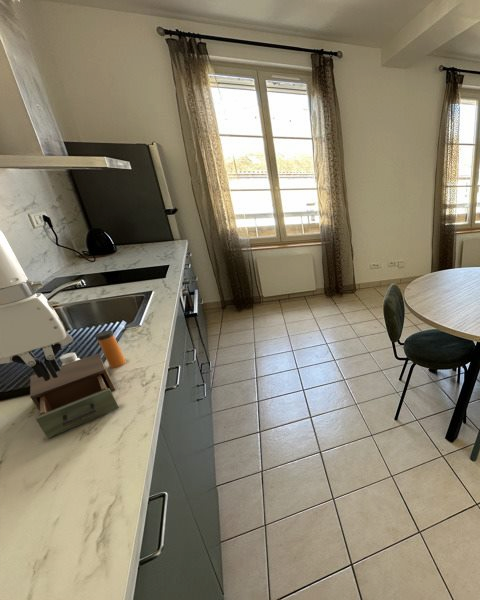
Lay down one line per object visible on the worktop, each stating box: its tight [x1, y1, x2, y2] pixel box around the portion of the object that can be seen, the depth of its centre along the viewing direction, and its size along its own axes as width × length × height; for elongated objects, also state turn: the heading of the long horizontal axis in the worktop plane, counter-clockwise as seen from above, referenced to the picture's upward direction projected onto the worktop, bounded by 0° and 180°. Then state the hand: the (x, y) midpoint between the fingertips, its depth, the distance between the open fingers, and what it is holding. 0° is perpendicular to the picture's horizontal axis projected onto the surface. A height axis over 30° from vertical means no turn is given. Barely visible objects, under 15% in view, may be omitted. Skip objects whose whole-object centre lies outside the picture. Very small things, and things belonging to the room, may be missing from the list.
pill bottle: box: [59, 352, 81, 366], centre depth 100 cm, size 4×4×8 cm
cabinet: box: [29, 353, 116, 413], centre depth 91 cm, size 14×15×8 cm
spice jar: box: [94, 329, 127, 369], centre depth 104 cm, size 4×4×12 cm
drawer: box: [35, 374, 120, 439], centre depth 83 cm, size 17×13×6 cm
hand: (51, 376), depth 68 cm, fingers closed
